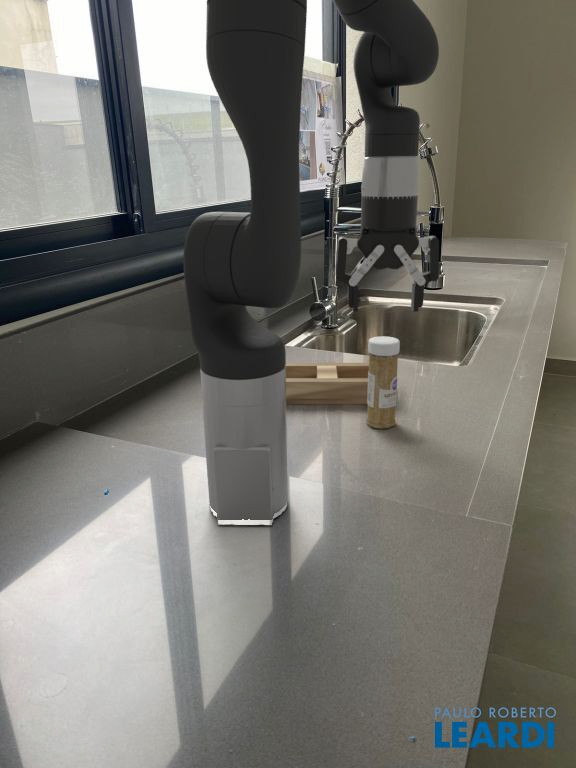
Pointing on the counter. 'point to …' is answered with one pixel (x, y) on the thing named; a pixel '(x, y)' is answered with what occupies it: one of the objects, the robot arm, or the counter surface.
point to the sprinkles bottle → (382, 381)
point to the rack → (326, 383)
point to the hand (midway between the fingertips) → (384, 310)
